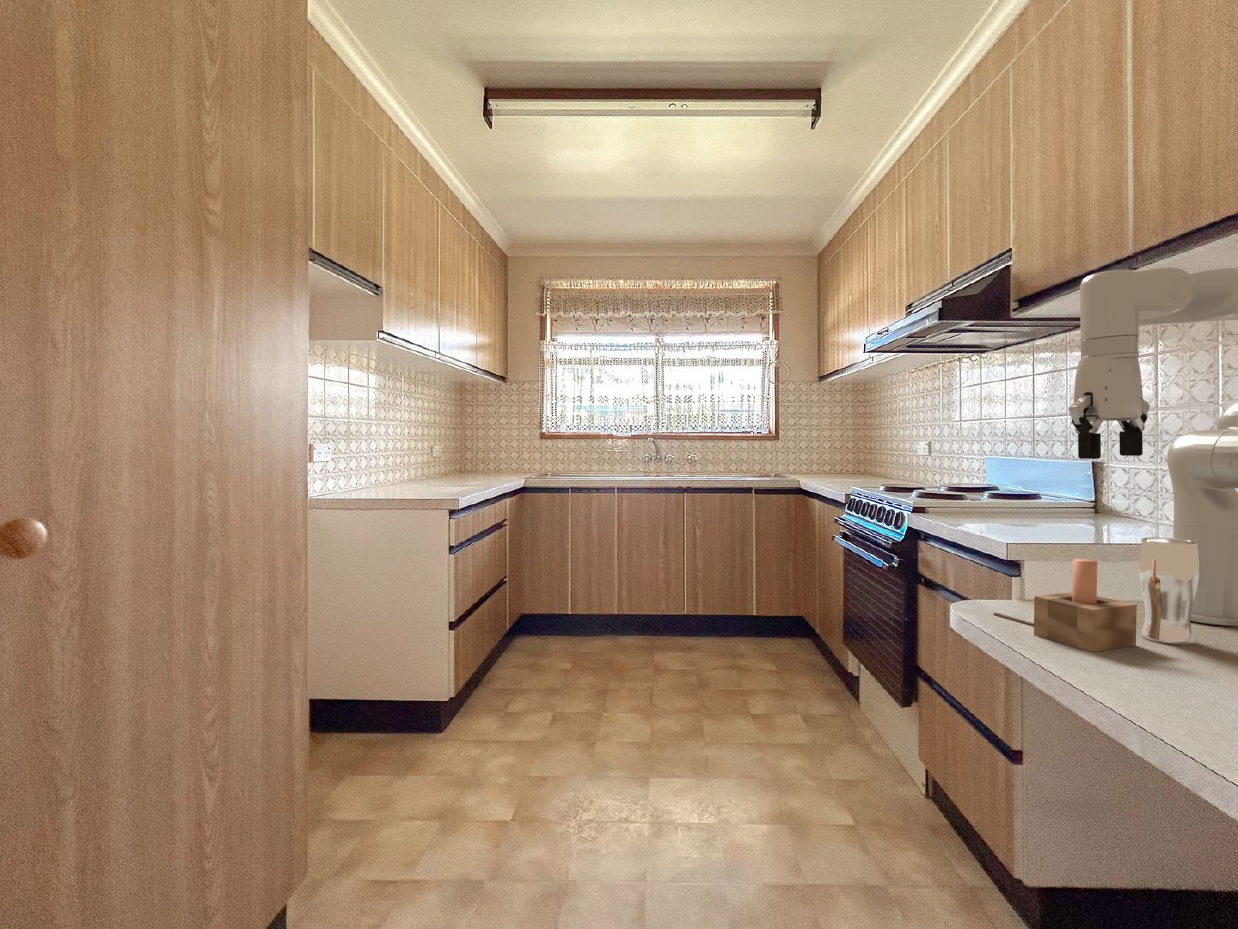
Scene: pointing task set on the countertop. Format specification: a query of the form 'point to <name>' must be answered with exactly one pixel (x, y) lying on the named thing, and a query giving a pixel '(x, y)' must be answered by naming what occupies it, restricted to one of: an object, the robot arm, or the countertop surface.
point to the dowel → (1084, 581)
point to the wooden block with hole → (1085, 622)
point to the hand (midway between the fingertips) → (1110, 457)
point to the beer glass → (1168, 588)
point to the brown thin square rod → (1014, 619)
